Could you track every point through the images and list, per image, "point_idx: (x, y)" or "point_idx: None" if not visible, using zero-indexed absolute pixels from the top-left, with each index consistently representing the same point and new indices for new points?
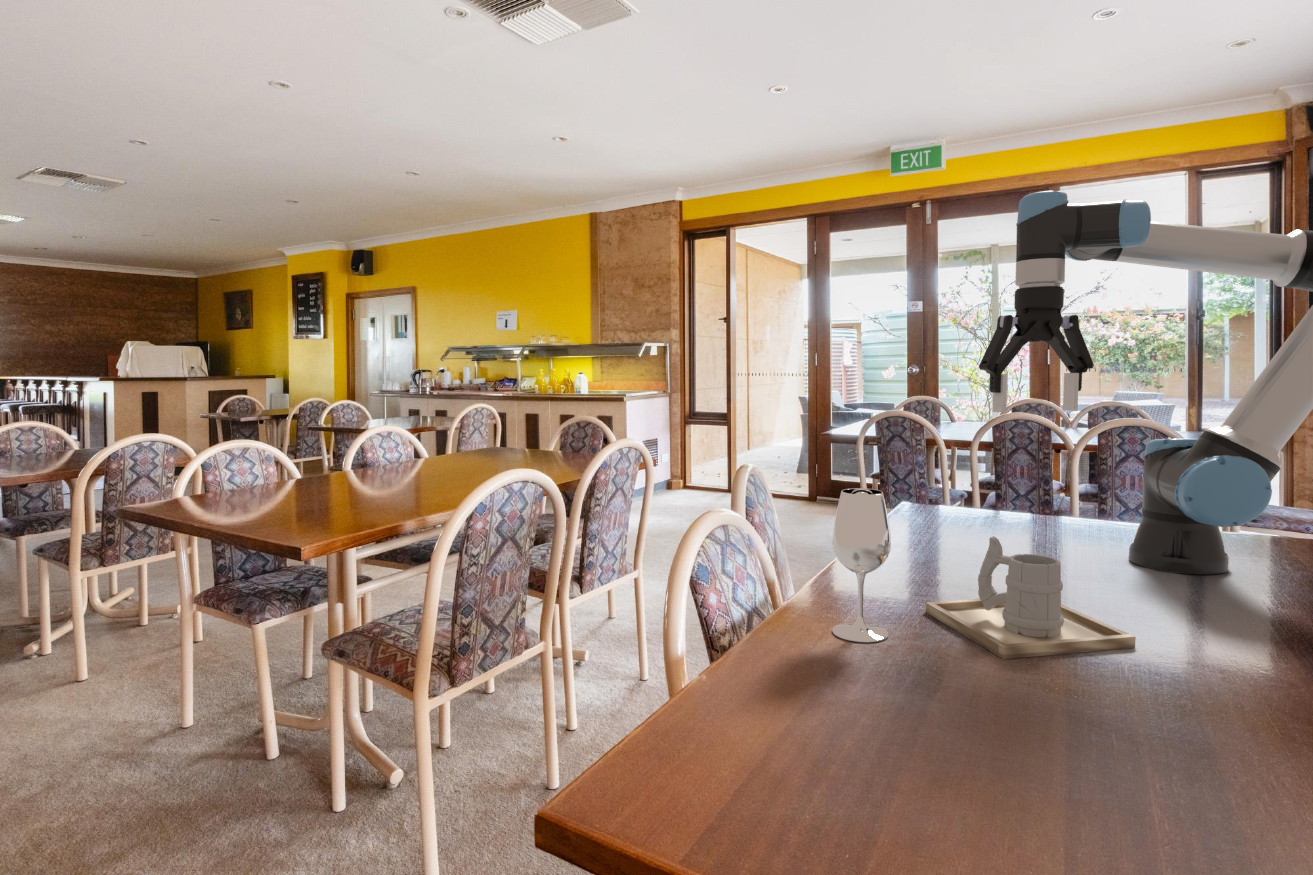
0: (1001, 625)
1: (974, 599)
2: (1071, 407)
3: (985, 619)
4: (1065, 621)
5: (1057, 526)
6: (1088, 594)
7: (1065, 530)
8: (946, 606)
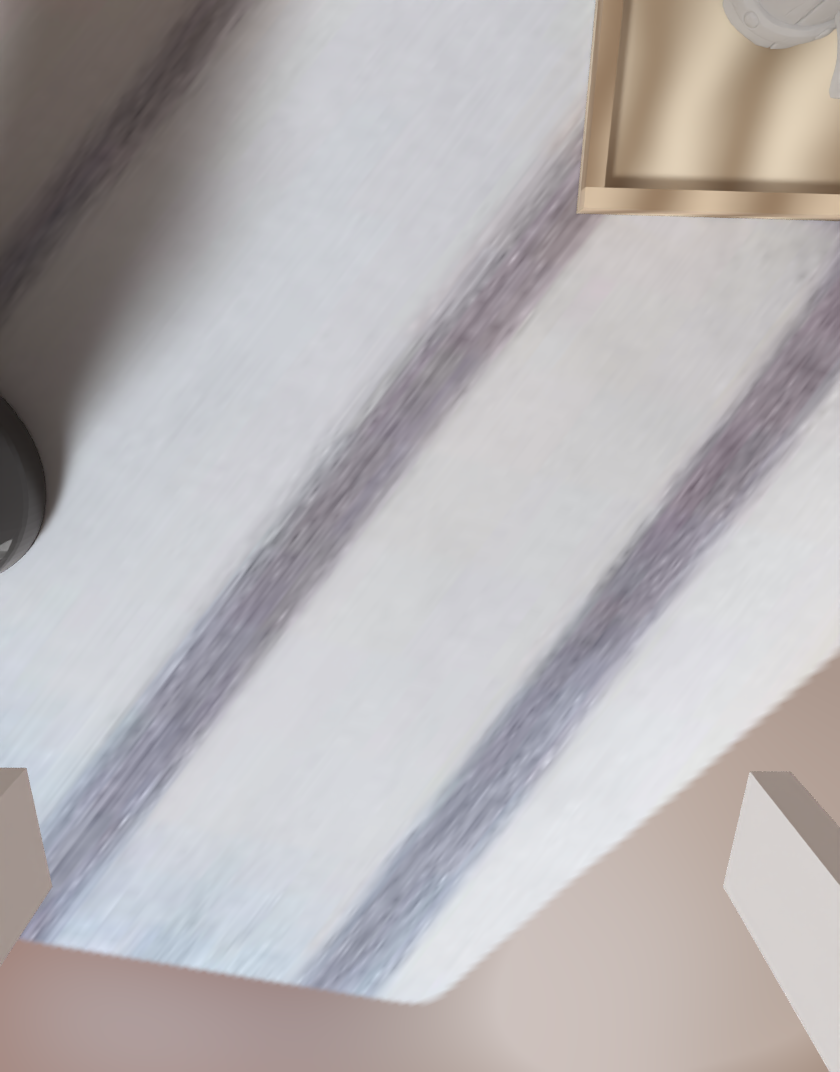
0: None
1: (787, 210)
2: (11, 818)
3: None
4: (650, 7)
5: None
6: (381, 263)
7: None
8: None
